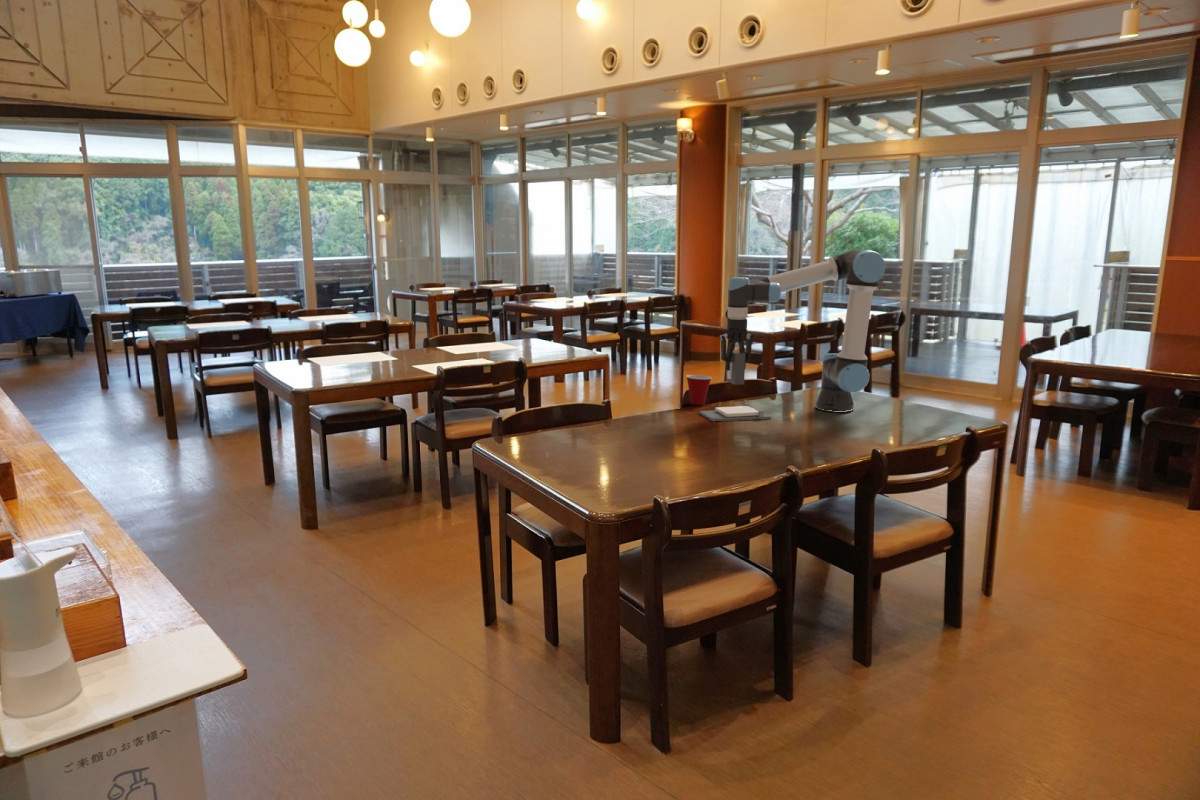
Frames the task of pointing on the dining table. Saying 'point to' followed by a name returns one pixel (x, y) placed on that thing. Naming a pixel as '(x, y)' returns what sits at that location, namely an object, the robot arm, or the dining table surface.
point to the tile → (737, 411)
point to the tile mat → (719, 417)
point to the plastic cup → (698, 388)
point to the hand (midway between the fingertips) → (735, 378)
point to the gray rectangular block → (737, 368)
